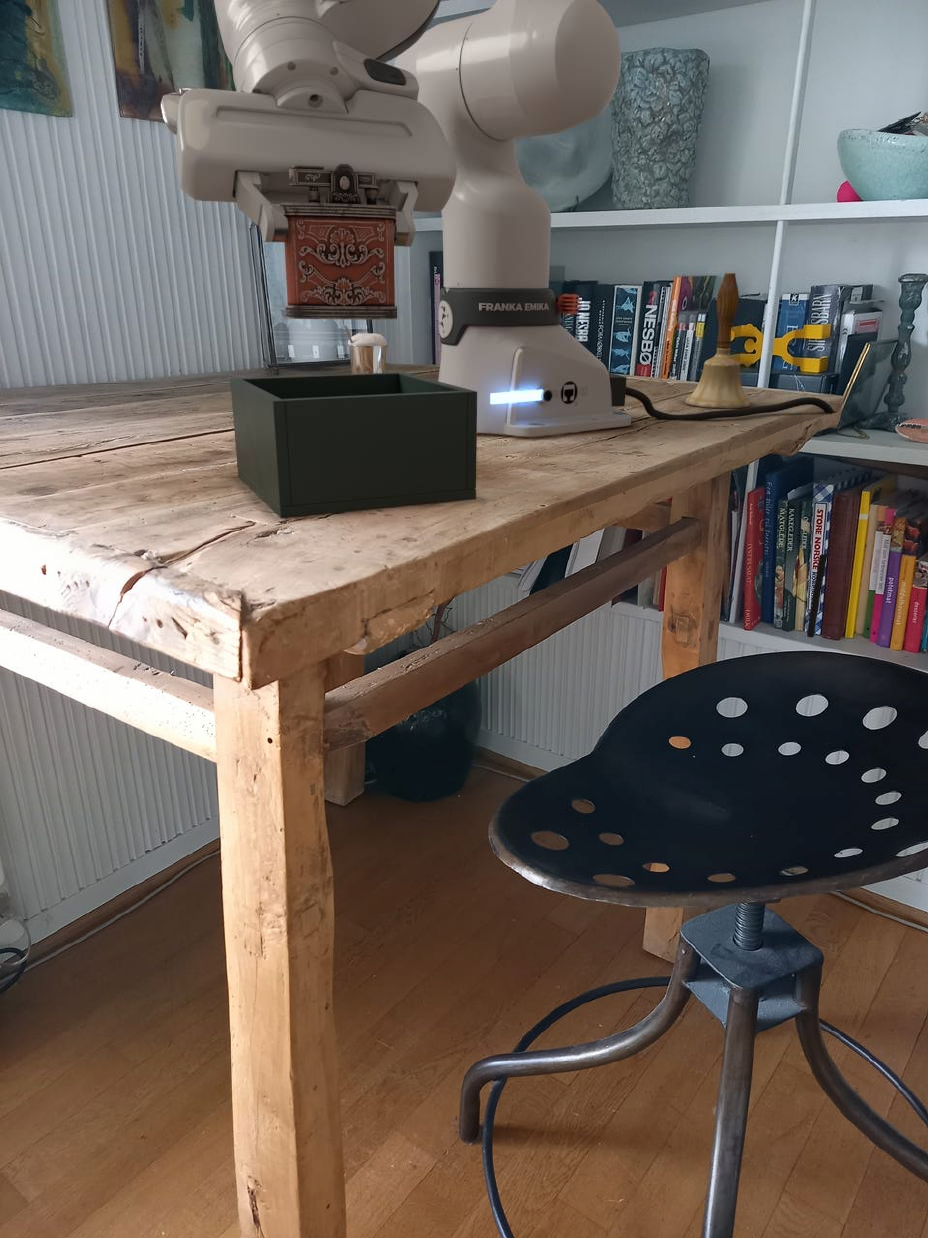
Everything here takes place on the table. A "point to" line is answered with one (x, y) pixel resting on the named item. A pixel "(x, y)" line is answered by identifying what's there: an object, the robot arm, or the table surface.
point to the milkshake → (367, 353)
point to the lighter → (339, 247)
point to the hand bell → (722, 358)
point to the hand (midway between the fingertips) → (343, 237)
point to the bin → (354, 441)
